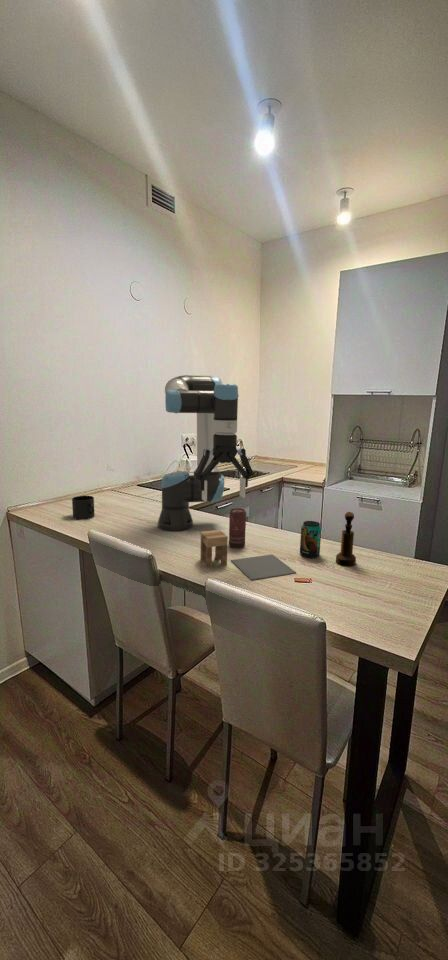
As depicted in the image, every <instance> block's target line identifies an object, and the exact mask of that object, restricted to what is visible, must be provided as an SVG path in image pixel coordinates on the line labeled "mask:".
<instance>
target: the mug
mask: <svg viewBox="0 0 448 960" xmlns="http://www.w3.org/2000/svg"><path fill="white" fill-rule="evenodd" d="M71 504H72V505H71V506H72V518H73V519H74V518H76V519H75V520H79V519H84V520H89V519H88V518H90V519H92V517H93V518H94V517H95V515H96V514H95V497H94V496H93V495H92V496H91V495H79V496H78V495H77V496H74V497H72V498H71Z"/></svg>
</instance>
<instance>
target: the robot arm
mask: <svg viewBox="0 0 448 960" xmlns="http://www.w3.org/2000/svg"><path fill="white" fill-rule="evenodd" d="M164 393H165V394H164V396H165V400H164V401H165V402H164V403H165V404H164V405H165V411H166V412H167V413H173V414H196V468H195V469H194V470H193V475H190V473H189V472H188V471H176V472H169V473H167V474H165V475H162V477H161V478H162V479H161V486H160V488H161V511H160V513H159V516H158V519H157V527H158V528H159V529H161V530H163V531H169V532H179V531H185V530H189V529H191V528H193V526H194V520H193V517H192V514H191V511H190V503H213V502H219V501H221V500H222V497H223V495H224V489H225V477H224V475H223V474H221V470H220V469H219V468H218V465H219V463H220V464H225V463H227V464H231V463H232V466H234V467H235V469H236V470H237V471H238V472H239V474H240V475H241V477H240V478H239V497H240V498H243V499H245V498H246V488H248V486H249V485H248V484H249V479H250V477H252V476H254V471H253V469H252V466H251V464H250V462H249V459H248V456H247V455H246V454H247V453H246V452H247V451H246V449H245V448H243V447H239V448H237V443H238V436H237V433H238V412H239V411H238V408H239V406H238V405H239V386H238V385H237V384H235V383H223V382H222V380H221V378H220V377H218V376H214V375H190V374H189V375H188V374H185V375H183V374H182V375H179V376H175V377H172V378H171V379H170V380H168V381H167V383H166V384H165V387H164ZM237 455H238V456H239V458H240V461H241V462H242V464H243V466H242V465H241V464H240V462H239V461H238V459H237V458H236V456H237Z"/></svg>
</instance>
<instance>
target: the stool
mask: <svg viewBox="0 0 448 960" xmlns="http://www.w3.org/2000/svg"><path fill="white" fill-rule="evenodd" d="M228 540H229V535H227V534H225V532H224V531H222V530H221V529H215V530H205V531H200V561H201V562H205V567H206V568H208V569H209V568H212V566H213V565H212V564H213V547H214V548H215V549H214V551H215V552H214V553H215V555H214V558H215V560H220V565H222V566H227V565H228Z"/></svg>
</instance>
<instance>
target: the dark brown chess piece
mask: <svg viewBox="0 0 448 960" xmlns="http://www.w3.org/2000/svg"><path fill="white" fill-rule="evenodd" d="M344 519H345V522H346V524H344V527H345V529H344V530H342V531H341V539H340V540H341V542H340V543H341V544H340V552H339V553H337V554H336V555H335V563H337V564H338V565H340V566H343V567H344V566H345V567H351V566H352V567H353V566H355V565H356V563H357V558H356V557H357V556H355V554H353V552H354V551H353V549H354V539H355V538H354V537H355V532H354V531H353V530H352V528H353V524H352V522H353V520H354V519H355V514H354V513H353V512H351V511H346V513H345V514H344Z"/></svg>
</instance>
